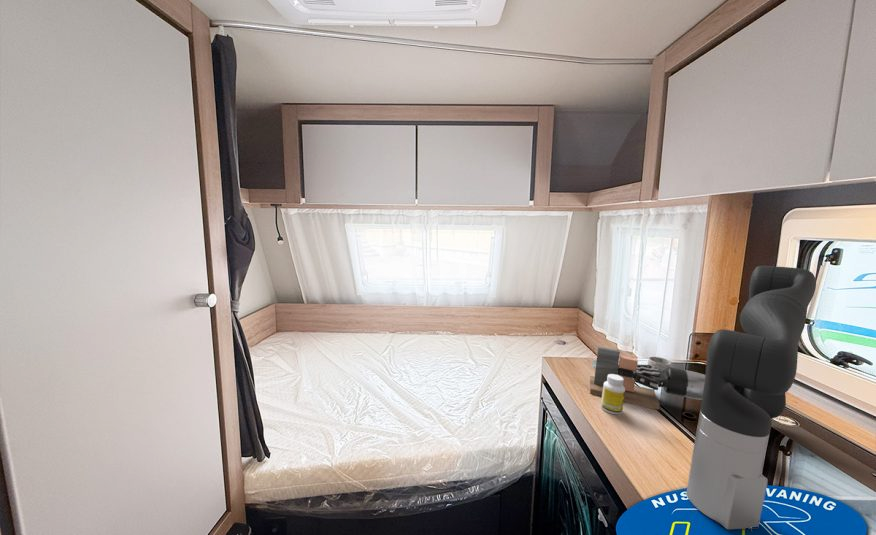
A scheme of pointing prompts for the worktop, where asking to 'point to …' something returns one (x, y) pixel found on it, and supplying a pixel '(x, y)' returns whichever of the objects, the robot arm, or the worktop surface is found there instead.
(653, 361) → the mug
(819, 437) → the worktop surface
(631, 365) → the orange rectangular block
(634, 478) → the worktop surface
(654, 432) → the worktop surface
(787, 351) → the robot arm
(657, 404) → the stand
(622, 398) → the supplement bottle
